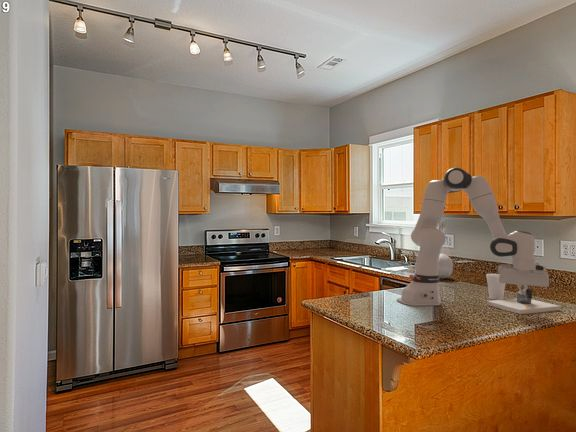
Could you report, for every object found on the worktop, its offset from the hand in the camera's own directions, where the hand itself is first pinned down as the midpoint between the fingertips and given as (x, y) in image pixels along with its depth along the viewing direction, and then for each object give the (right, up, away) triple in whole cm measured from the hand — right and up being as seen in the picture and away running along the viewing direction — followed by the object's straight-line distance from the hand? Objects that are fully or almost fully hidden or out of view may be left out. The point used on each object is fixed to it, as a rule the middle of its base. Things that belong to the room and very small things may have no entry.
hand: (522, 294), depth 172 cm
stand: (+5, -8, +8) cm, 13 cm away
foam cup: (+3, -8, +26) cm, 28 cm away
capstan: (+5, -6, +5) cm, 9 cm away
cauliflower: (-4, -8, +93) cm, 93 cm away
